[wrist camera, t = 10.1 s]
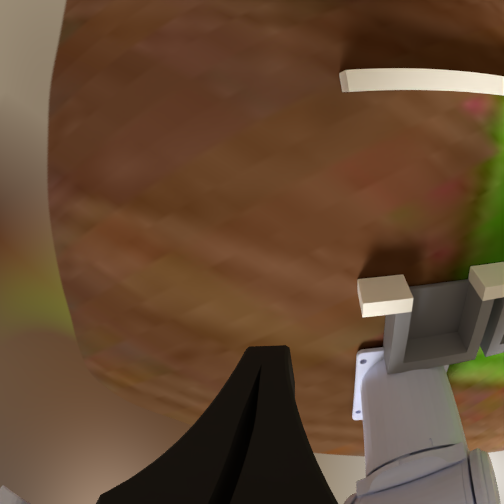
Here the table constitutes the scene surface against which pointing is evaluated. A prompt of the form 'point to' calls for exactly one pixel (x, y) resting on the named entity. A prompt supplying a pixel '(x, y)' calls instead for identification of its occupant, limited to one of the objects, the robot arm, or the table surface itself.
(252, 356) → the robot arm
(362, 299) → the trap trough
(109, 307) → the table surface
